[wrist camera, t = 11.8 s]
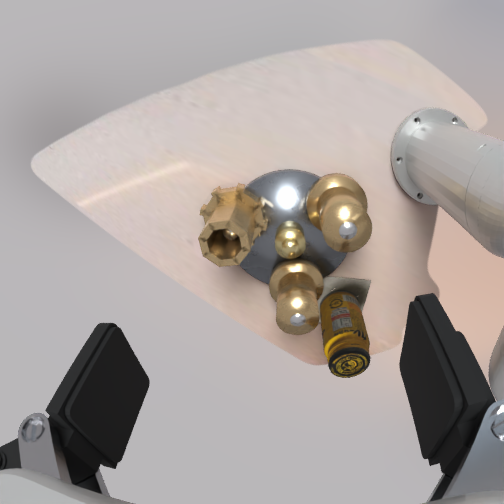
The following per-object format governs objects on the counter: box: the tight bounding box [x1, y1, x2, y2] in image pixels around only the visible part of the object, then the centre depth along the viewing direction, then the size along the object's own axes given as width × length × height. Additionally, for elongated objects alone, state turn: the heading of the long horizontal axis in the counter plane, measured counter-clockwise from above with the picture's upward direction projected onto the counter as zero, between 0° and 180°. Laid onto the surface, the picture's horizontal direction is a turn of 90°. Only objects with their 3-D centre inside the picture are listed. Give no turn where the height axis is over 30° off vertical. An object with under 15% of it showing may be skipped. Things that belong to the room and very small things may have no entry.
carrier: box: [223, 169, 372, 335], centre depth 37 cm, size 18×19×9 cm
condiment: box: [317, 277, 371, 378], centre depth 40 cm, size 7×8×12 cm
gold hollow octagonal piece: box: [198, 183, 268, 267], centre depth 35 cm, size 8×8×8 cm
